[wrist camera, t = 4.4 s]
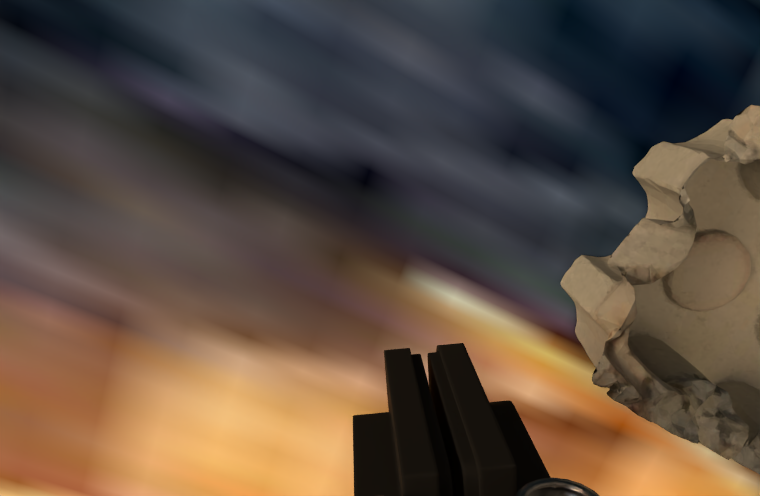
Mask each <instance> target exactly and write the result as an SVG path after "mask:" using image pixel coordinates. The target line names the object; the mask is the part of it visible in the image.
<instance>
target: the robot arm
mask: <svg viewBox="0 0 760 496" xmlns="http://www.w3.org/2000/svg"><path fill="white" fill-rule="evenodd" d="M384 357H385V370H386V383H387V395H388V408H389V412H385V413H375V414H365V415H354V416H353V451H354V496H599V495H598V494H597V493H596V492H595V491H593V490H591V489H590V488H588V487H586V486H584V485H583V484H580V483H577V482H574V481H571V480H568V479H560V478H550V476H549V474H548V472H547V470H546V468H545V466H544V464H543V462H542V460H541V458H540V456H539V454H538V452H537V450H536V448H535V446H534V444H533V442H532V440H531V438H530V436H529V434H528V432H527V430H526V428H525V426H524V424H523V422H522V420H521V418H520V416H519V414H518V412H517V410H516V408H515V406H514V405H513V403H512V402H511V401H499V402H489V401H488V399H487V396H486V394H485V392H484V389H483V387H482V385H481V383H480V380H479V378H478V376H477V373H476V371H475V369H474V366H473V364H472V362H471V360H470V357H469V355H468V353H467V350H466V348H465V346H464V344H463V343H458V344H448V345H437V352H435V353H428V373H429V385H428V381H427V377H426V373H425V369H424V366H423V362H422V358H421V355H420V354H413V355H411V352H410V348H405V349H394V350H384Z"/></svg>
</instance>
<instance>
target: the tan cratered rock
mask: <svg viewBox="0 0 760 496" xmlns="http://www.w3.org/2000/svg"><path fill="white" fill-rule="evenodd" d="M633 175H634V176H635V178H636V179H637V180H638V181H639V183H640V184H641V186H642V187H643V189H644V190H645V192H646V193H647V199H648V212H647V215H646V217H645V218H642V220H641V221H640V222H639V223H638V224H637V225H636V226H635V227H634V228H633V229H632V231H631V232H630V234H629V235H628V236H627V237H626V238H625V239H624V240H623V242H622V243H621V244H620V245H619V247H618V248H617V249H616V250H615V252H614V253H613V254H612V255H610V256H607V257H593V256H587V255H581V256H580V257H579V258H577V259H576V260H575V261H574V263H573V265H572V266H571V268H570V269H569V270H568V271H567V272H566V273H565V275H564V277H563V279H562V281H561V286H562V288H563V289H564V290H565V291H566V292H567V293H568V295H569V296H570V297H571V298H572V300H573V301H574V303H575V306H576V311H577V324H576V328H575V333H576V335H577V338H578V339H579V341H580V342H581V344H582V346H583V347H584V349H585V351H586V353H587V355H588V356H589V358H590V359H591V361H592V362H593V364H594V365H595V367H596V369H595V371H594V373H593V376H592V381H593V384H595V385H598V386H600V387H608V388H610V390H609V391H608V392H607V395H608V396H609V397H611V398H612V399H613V400H614V401H617V402H619V403H621V404H623V405H625V406H627V407H628V408H629V409H630V410H632V411H633V412H634V413H636V414H637V415H639V416H641V417H643V418H645V419H646V420H648V421H650V422H654V423H656V424H658V425H659V426H661V427H662V428H664V429H665V430H667V431H669V432H670V433H672V434H674V435H677V436H679V437H681V438H684V439H687V440H689V441H691V442H693V443H698V442H699V443H701V444H703V445H704V446H706V447H708V448H709V449H711V450H712V451H714V452H716V453H717V454H719V455H721V456H722V457H724V458H726V459H728V460H729V459H733V460H734V461H736V462H738V463H739V464H741V465H743V466H745V467H747V468H749V469H751V470H753V471H755V472H756V473H758V474H760V106H754V105H751V106H749V107H748V108H746V109H745V110H743V111H742V112H741V113H739V114H738V115H736V117H735V118H734V119H733V120H731V119H723V120H721V121H720V122H719V123H717V124H716V125H715V126H713V127H712V128H711V129H709V130H708V131H707V132H705V133H703V134H701V135H699V136H698V137H696V138H694V139H692V140H690V141H687V142H684V143H675V144H673V143H668V142H661V143H659V144H657V145H655V146H653V147H651V149H650V150H649V152H648V153H647V155H646V156H645V157H644V158H643V159H642V160H641V161H640V162H639V163H638V164H637V165H636V166H635V167H634V170H633Z"/></svg>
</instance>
